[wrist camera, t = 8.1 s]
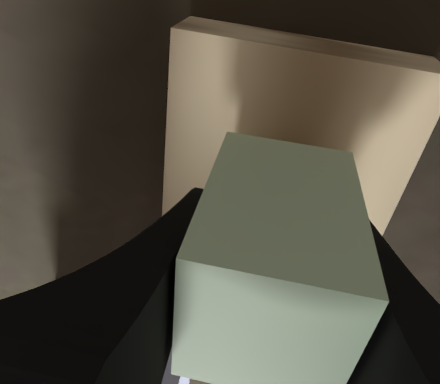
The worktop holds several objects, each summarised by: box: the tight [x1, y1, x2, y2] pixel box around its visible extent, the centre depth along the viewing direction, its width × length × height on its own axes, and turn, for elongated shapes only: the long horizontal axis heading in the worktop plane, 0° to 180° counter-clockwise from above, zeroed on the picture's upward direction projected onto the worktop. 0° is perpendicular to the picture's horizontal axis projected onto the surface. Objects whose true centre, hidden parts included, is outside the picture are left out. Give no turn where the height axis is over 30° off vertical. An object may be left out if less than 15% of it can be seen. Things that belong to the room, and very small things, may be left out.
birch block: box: [162, 16, 440, 235], centre depth 16 cm, size 9×9×3 cm
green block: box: [171, 132, 389, 384], centre depth 11 cm, size 4×4×6 cm
